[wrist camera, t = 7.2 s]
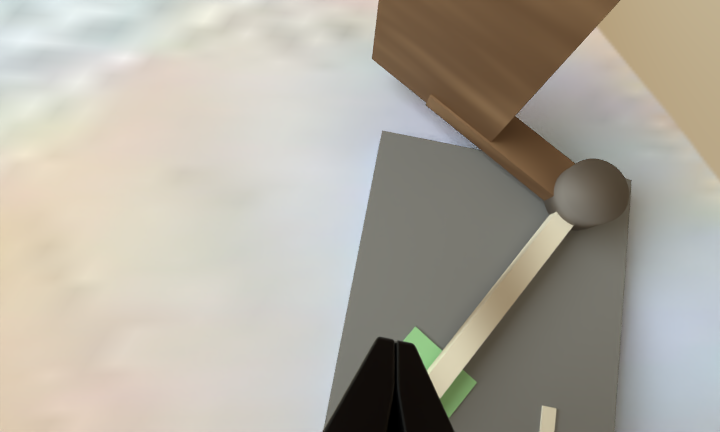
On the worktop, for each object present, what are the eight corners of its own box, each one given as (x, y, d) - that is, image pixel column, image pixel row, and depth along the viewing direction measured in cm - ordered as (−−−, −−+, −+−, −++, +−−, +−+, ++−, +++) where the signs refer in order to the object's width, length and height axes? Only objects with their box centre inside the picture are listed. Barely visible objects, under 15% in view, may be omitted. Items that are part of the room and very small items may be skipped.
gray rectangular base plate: (588, 558, 16) (605, 576, 15) (309, 503, 16) (306, 517, 15) (616, 186, 19) (633, 179, 18) (380, 139, 19) (382, 129, 18)
